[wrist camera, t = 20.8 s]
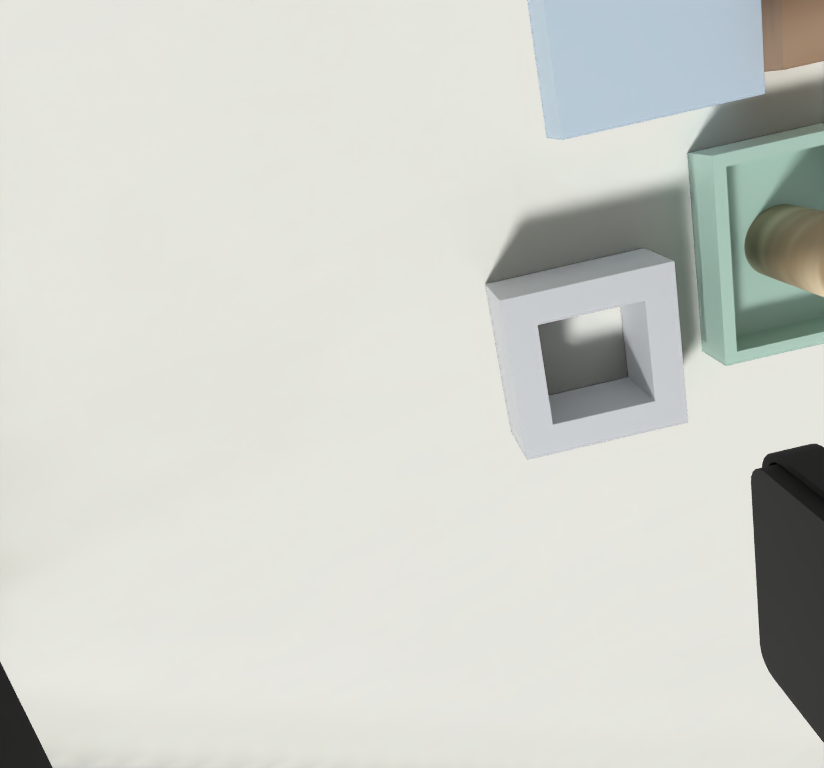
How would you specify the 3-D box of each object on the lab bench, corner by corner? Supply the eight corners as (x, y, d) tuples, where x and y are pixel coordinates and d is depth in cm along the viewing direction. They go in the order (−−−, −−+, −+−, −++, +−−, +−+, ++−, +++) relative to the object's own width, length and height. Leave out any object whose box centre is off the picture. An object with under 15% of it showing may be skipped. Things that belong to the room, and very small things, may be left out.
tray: (687, 153, 36) (712, 156, 33) (850, 116, 36) (886, 116, 34) (702, 350, 39) (725, 366, 37) (851, 316, 39) (884, 329, 37)
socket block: (485, 284, 37) (499, 300, 34) (644, 248, 37) (674, 260, 34) (510, 431, 40) (526, 459, 36) (658, 396, 40) (688, 422, 37)
